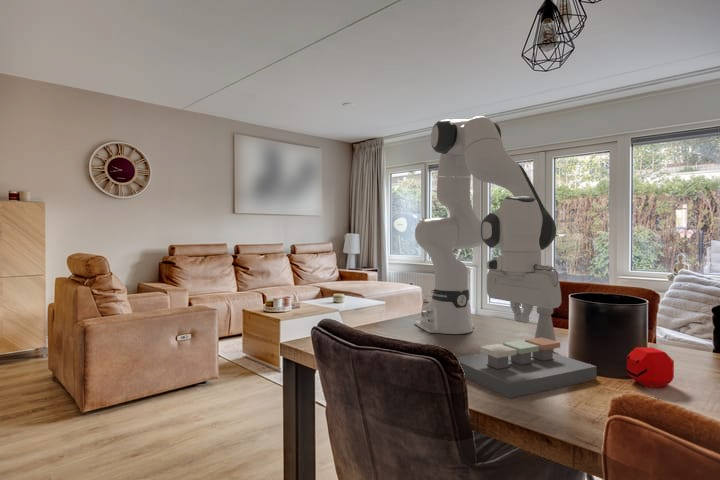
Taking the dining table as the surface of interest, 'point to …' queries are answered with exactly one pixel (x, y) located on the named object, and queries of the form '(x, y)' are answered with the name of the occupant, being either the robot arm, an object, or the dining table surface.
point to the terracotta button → (544, 348)
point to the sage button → (522, 351)
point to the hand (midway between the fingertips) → (521, 321)
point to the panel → (527, 374)
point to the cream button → (498, 355)
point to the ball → (650, 367)
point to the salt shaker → (545, 324)
